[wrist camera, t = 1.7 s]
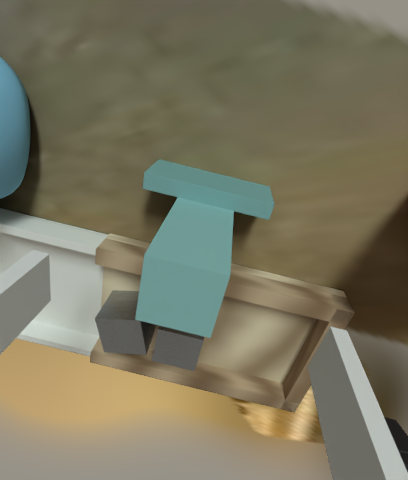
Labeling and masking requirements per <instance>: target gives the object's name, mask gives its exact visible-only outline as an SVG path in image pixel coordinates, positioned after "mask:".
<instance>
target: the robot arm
mask: <svg viewBox="0 0 408 480" xmlns="http://www.w3.org/2000/svg"><path fill="white" fill-rule="evenodd" d="M50 301H51V292H50V262H49V254H47V253H43V252H39V251H35V250H32V251H31V252H30V253H28V254H27V255H26V256H24V257H23V258H21V259H20V260H19V261H17V262H16V263H15V264H13V265H12V266H11V267H9V268H8V269H7V270H5V271H4V272H3V273H1V274H0V354H1V353H2V352H3V351H4V350H5V349H6V348H7V347H8V346H9V345H10V344H11V343H12V341H13V340H14V339H15V338H16V337H17V336H18V335H19V334H20V333H21V332H22V331H23V330H24V329H25V328H26V327H27V326H28V324H29V323H30V322H31V321H32V320H33V319H34V318H35V317H36V316H37V315H38V314H39V313H40V312H41V311H42V309H43V308H44V307H45V306H46V305H47V304H48V303H49V302H50ZM307 368H308V372H309V376H310V381H311V385H312V390H313V394H314V399H315V403H316V407H317V412H318V416H319V421H320V425H321V430H322V434H323V438H324V443H325V447H326V452H327V456H328V461H329V464H330V469H331V474H332V478H333V480H408V436H407V434H406V433H405V432H404V430H403V429H402V428H401V426H400V425H399V424H398V423H397V421H396V420H393V419H389V418H386V417H384V416H383V414H382V411H381V409H380V407H379V405H378V402H377V400H376V397H375V395H374V393H373V391H372V388H371V386H370V383H369V381H368V379H367V376H366V374H365V372H364V369H363V367H362V365H361V362H360V360H359V358H358V356H357V353H356V351H355V348H354V346H353V344H352V341H351V339H350V336H349V334H348V332H347V331H346V330H343V329H339V328H335V327H331V326H330V328H329V330H328V331H327V333H326V335H325V337H324V339H323V340H322V342H321V344H320V346H319V347H318V349H317V351H316V353H315V354H314V356H313V358H312V360H311V361H310V363H309V365H308V367H307Z"/></svg>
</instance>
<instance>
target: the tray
mask: <svg viewBox="0 0 408 480" xmlns="http://www.w3.org/2000/svg"><path fill="white" fill-rule="evenodd" d="M107 236H108V235H107V234H103V233H99V232H95V231H91V230H87V229H83V228H79V227H75V226H71V225H67V224H63V223H59V222H55V221H51V220H47V219H43V218H39V217H34V216H30V215H26V214H22V213H18V212H14V211H10V210H6V209H2V208H0V274H1V273H3V272H4V271H5V270H7V269H8V268H9V267H11V266H12V265H13V264H15V263H16V262H17V261H19V260H20V259H21V258H23V257H24V256H26V255H27V254H28V253H30V252H31V251H32V250H35V251H39V252H43V253H47V254H49V262H50V292H51V301H50V302H49V303H48V304H47V305H46V306H45V307H44V308H43V309H42V311H41V312H40V313H39V314H38V315H37V316H36V317H35V318H34V319H33V320H32V321H31V322H30V323H29V324H28V326H27V327H26V328H25V329H24V330H23V331H22V332H21V333H20V334H19V335H18V336H17V337H16V338H18V339H21V340H26V341H30V342H33V343H38V344H42V345H46V346H50V347H54V348H58V349H62V350H66V351H70V352H74V353H78V354H82V355H86V356H90V354H91V351H92V349H93V347H94V346H95V344H96V342H97V340H98V339H99V332H98V329H97V325H96V321H95V317H96V316H97V314H98V313H99V311H100V310H101V299H102V285H103V270H104V266H101V265H97V264H95V254H96V248H97V247H98V246H99V245H100V244H101V243H102V242H103V240H104V239H105V238H106V237H107Z"/></svg>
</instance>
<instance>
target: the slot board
mask: <svg viewBox="0 0 408 480" xmlns="http://www.w3.org/2000/svg"><path fill="white" fill-rule="evenodd" d="M150 244H151V243H147V242H143V241H139V240H135V239H131V238H127V237H123V236H119V235H115V234H111V233H110V234H109V235H108V236H107V237H106V238H105V239H104V240H103V242H102V243H101V244H100V245H99V246H98V247H97V248H96V254H95V264H97V265H101V266H104V270H103V285H102V299H101V308H102V306H103V305H104V303H105V302H106V300H107V299H108V297H109V295H110V294H111V292H112V291H113V290H120V291H139V289H140V282H141V275H142V268H143V261H144V254H145V253H146V251H147V249H148V248H149V246H150ZM354 314H355V313H354V311H353V309H352V307H351V305H350V303H349V301H348V299H347V297H346V295H345V293H344V291H341V290H337V289H333V288H329V287H325V286H321V285H317V284H313V283H309V282H305V281H301V280H297V279H293V278H289V277H285V276H281V275H277V274H273V273H269V272H265V271H261V270H256V269H252V268H248V267H244V266H240V265H236V264H232V263H231V271H230V278H229V281H228V284H227V288H226V291H225V294H224V297H223V300H222V303H221V307H220V310H219V313H218V316H217V319H216V322H215V325H214V329H213V332H212V335H211V338H208V337H204V342H203V345H202V348H201V351H200V355H199V358H198V361H197V365H196V368H195V371H191V370H187V369H183V368H179V367H175V366H171V365H167V364H163V363H159V362H155V361H152V356H153V351H154V346H155V341H156V336H157V331H158V327H159V325H157V327H156V330H155V332H154V335H153V338H152V341H151V344H150V346H149V349H148V352H147V355H140V354H123V353H106V352H104V350H103V347H102V343H101V340H100V336H99V339H98V340H97V342H96V344H95V346H94V347H93V349H92V351H91V354H90V362H92V363H96V364H100V365H104V366H108V367H112V368H116V369H120V370H124V371H128V372H132V373H136V374H140V375H144V376H148V377H152V378H156V379H160V380H164V381H169V382H173V383H177V384H181V385H185V386H189V387H193V388H197V389H201V390H205V391H209V392H214V393H218V394H221V395H225V396H229V397H233V398H237V399H241V400H245V401H250V402H254V403H258V404H262V405H266V406H270V407H274V408H278V409H282V410H286V411H290V412H295V411H296V409H297V407H298V406H299V404H300V402H301V401H302V399H303V397H304V396H305V394H306V393H307V391H308V389H309V388H310V386H311V381H310V376H309V372H308V368H307V367H308V365H309V363H310V361H311V360H312V358H313V356H314V354H315V353H316V351H317V349H318V347H319V346H320V344H321V342H322V340H323V339H324V337H325V335H326V333H327V331H328V330H329V328H330V326H331V327H335V328H339V329H343V330H345V328H346V327H347V325H348V323H349V322H350V320H351V318H352V317H353V315H354Z"/></svg>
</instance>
